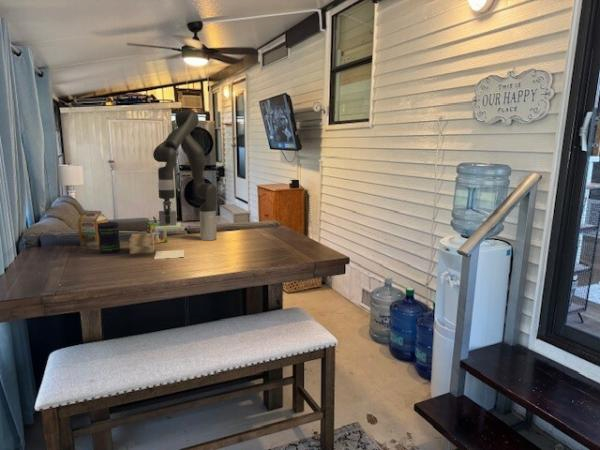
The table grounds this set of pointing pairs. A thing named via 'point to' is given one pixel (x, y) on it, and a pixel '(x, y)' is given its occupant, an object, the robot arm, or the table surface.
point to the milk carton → (90, 227)
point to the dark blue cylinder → (108, 238)
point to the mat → (169, 254)
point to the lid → (164, 227)
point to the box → (141, 243)
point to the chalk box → (156, 232)
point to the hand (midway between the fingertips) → (168, 222)
